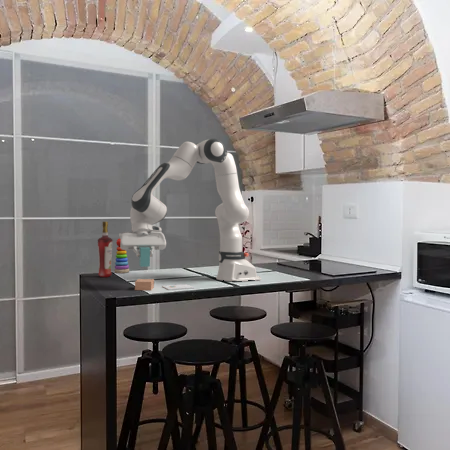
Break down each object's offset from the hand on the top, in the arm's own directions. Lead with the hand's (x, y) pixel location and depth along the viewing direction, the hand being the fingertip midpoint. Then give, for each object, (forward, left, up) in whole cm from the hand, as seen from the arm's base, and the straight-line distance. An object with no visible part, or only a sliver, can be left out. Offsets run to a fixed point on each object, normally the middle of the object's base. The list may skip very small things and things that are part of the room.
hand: (144, 255), depth 207 cm
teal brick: (0, -1, -5) cm, 5 cm away
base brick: (0, -1, -15) cm, 15 cm away
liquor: (+14, -40, -15) cm, 45 cm away
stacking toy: (+4, -54, -15) cm, 56 cm away
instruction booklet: (-15, -1, -15) cm, 21 cm away
